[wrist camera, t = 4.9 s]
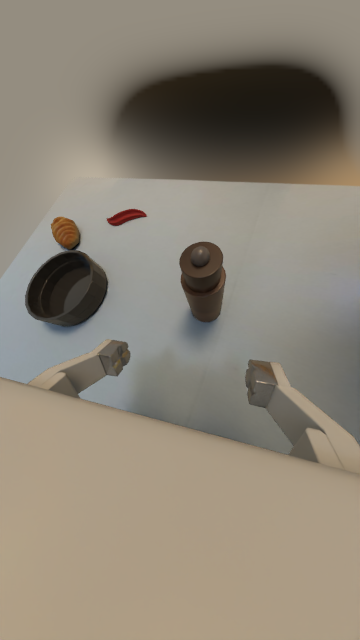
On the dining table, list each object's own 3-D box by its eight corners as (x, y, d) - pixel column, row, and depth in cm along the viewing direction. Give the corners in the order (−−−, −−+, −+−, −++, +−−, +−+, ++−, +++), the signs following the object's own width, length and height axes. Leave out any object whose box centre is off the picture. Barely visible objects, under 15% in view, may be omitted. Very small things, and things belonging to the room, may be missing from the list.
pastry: (86, 241, 39) (74, 228, 35) (66, 256, 39) (51, 245, 35) (76, 223, 42) (63, 210, 39) (57, 237, 42) (43, 225, 39)
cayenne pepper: (104, 225, 39) (98, 218, 37) (110, 212, 40) (105, 205, 39) (142, 226, 36) (139, 218, 34) (148, 212, 37) (145, 204, 35)
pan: (89, 252, 37) (73, 238, 33) (120, 291, 31) (106, 279, 27) (39, 294, 36) (17, 285, 32) (62, 342, 31) (38, 338, 26)
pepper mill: (206, 290, 27) (200, 218, 14) (227, 308, 25) (243, 245, 12) (185, 308, 27) (160, 253, 14) (205, 328, 25) (198, 286, 12)
